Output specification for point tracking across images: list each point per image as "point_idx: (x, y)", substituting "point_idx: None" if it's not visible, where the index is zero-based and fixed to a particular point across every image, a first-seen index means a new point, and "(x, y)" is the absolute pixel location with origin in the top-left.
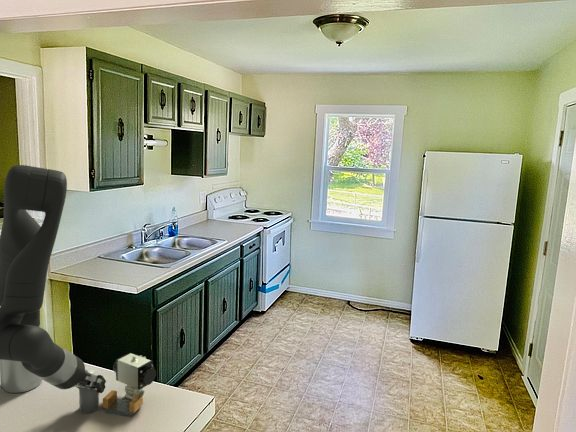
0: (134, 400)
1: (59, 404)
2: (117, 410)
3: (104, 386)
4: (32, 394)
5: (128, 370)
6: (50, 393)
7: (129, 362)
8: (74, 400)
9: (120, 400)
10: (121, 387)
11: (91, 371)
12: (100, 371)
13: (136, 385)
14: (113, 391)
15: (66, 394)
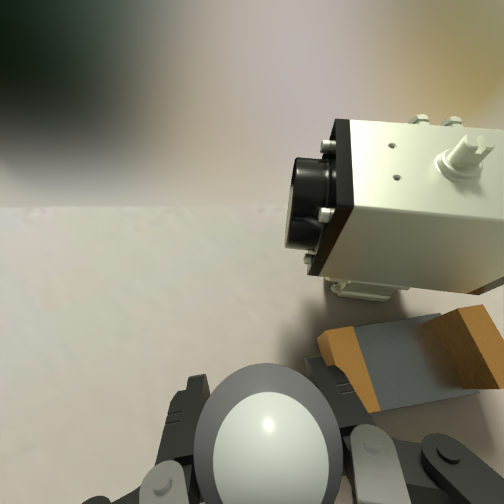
0: (497, 356)
1: (115, 457)
2: (412, 403)
3: (348, 384)
4: None
5: (448, 246)
6: (25, 400)
7: (463, 199)
8: (161, 398)
9: (357, 333)
10: (270, 251)
11: (278, 427)
12: (134, 208)
13: (467, 286)
14: (342, 336)
15: (99, 375)
